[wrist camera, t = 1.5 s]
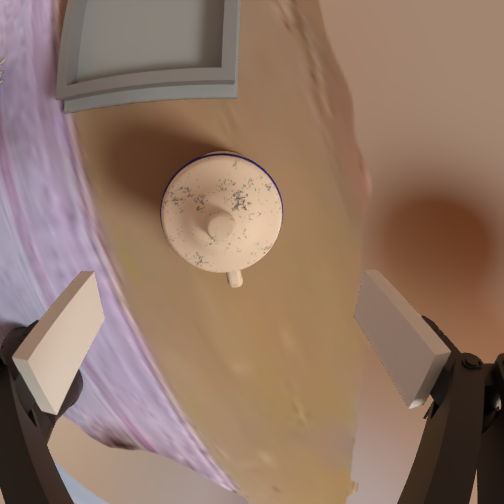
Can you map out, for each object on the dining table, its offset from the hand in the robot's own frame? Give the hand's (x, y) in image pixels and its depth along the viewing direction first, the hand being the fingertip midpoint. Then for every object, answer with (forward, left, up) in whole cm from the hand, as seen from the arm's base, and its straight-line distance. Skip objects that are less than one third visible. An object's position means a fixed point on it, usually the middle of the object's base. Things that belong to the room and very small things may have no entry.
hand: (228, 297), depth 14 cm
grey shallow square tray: (-8, +19, -18) cm, 27 cm away
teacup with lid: (0, 0, -18) cm, 18 cm away
